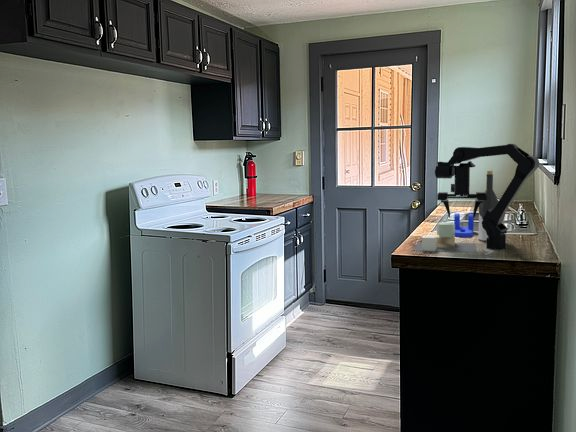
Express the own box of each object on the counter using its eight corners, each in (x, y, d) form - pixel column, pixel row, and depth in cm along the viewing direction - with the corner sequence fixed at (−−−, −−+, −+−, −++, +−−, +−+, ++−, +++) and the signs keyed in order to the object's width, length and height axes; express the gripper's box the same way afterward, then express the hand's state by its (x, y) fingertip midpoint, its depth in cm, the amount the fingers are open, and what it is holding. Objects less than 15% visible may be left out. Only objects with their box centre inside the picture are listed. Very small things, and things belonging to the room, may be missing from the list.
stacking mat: (475, 245, 223) (475, 223, 221) (477, 255, 204) (477, 231, 203) (417, 244, 229) (417, 223, 228) (413, 253, 210) (413, 230, 209)
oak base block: (454, 244, 221) (454, 234, 221) (454, 247, 214) (454, 237, 214) (436, 244, 223) (436, 234, 223) (436, 247, 216) (436, 237, 216)
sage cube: (452, 235, 220) (452, 222, 219) (452, 237, 215) (452, 224, 214) (439, 234, 221) (439, 222, 221) (439, 237, 216) (439, 224, 216)
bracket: (455, 231, 262) (455, 212, 260) (473, 231, 259) (473, 212, 257) (452, 237, 245) (452, 217, 244) (471, 238, 242) (471, 217, 241)
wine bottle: (500, 244, 224) (502, 171, 220) (479, 244, 226) (481, 171, 222) (497, 241, 232) (498, 170, 228) (477, 240, 233) (478, 170, 230)
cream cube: (436, 248, 214) (436, 235, 213) (435, 250, 209) (435, 238, 209) (422, 248, 216) (422, 235, 215) (422, 250, 211) (422, 237, 210)
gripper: (485, 177, 222) (485, 215, 224) (438, 177, 227) (438, 214, 229) (487, 179, 211) (486, 219, 213) (437, 179, 217) (437, 218, 219)
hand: (461, 217), depth 219 cm, fingers open, 9 cm apart
